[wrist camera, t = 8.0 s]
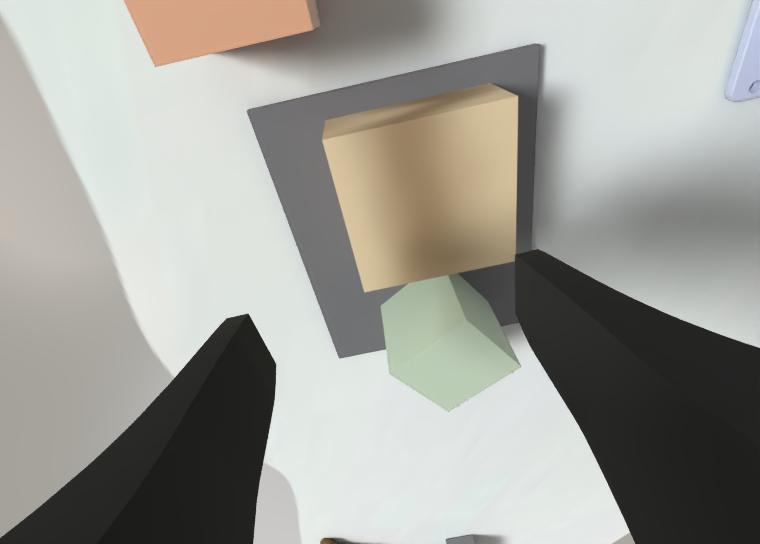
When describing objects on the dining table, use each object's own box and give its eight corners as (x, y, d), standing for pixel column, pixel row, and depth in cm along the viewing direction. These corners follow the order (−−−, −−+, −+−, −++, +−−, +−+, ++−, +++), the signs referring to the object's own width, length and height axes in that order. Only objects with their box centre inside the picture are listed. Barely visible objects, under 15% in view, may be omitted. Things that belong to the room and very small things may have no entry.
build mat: (535, 43, 15) (539, 44, 15) (525, 316, 24) (527, 320, 23) (248, 109, 16) (246, 111, 15) (339, 353, 24) (339, 358, 24)
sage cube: (488, 301, 22) (521, 366, 18) (429, 343, 24) (448, 411, 20) (440, 257, 20) (466, 319, 16) (380, 306, 22) (389, 373, 18)
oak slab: (490, 82, 16) (518, 95, 13) (493, 229, 20) (515, 260, 17) (324, 120, 16) (322, 139, 13) (361, 257, 20) (364, 292, 17)
